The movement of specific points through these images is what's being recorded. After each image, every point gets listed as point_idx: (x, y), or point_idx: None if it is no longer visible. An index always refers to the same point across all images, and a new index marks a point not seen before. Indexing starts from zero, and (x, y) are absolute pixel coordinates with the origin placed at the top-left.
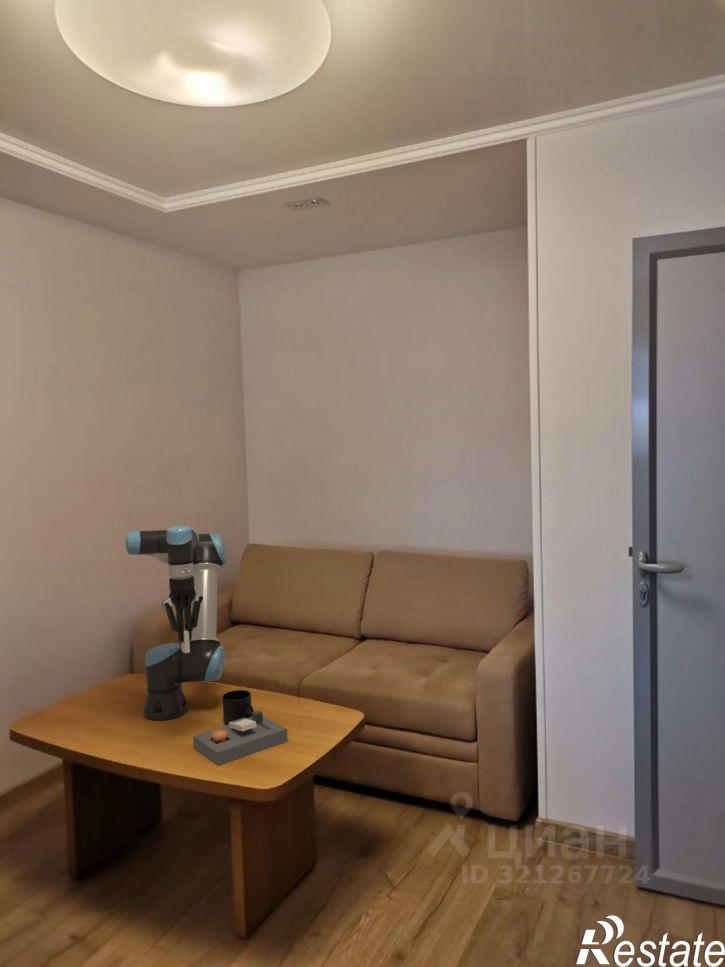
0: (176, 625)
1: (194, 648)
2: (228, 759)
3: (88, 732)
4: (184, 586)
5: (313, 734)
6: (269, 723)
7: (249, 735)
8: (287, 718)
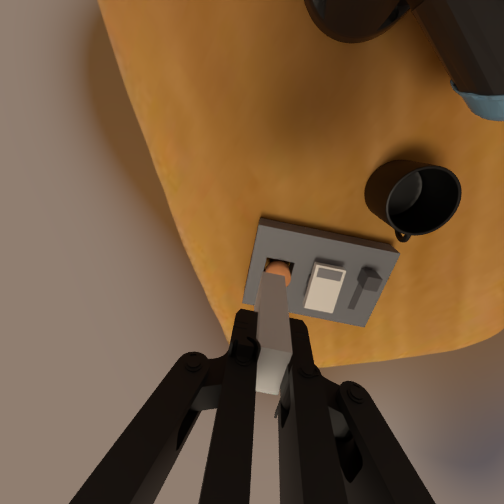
0: (177, 440)
1: None
2: None
3: None
4: None
5: (397, 327)
6: (370, 293)
7: None
8: (441, 258)
